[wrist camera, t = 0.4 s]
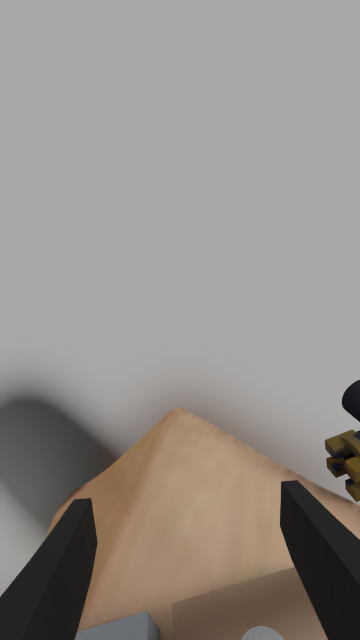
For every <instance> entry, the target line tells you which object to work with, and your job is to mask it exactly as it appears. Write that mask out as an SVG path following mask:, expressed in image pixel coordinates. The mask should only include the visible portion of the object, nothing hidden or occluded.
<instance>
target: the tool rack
mask: <svg viewBox="0 0 360 640" xmlns="http://www.w3.org/2000/svg"><path fill="white" fill-rule="evenodd" d="M75 640H160V632H159V628H158V626H157V625H156V623H155V622H154V620H153V618H152V617H151V615H150V614H149V612H148V611H146V612H143V613H139V614H136V615H133V616H129V617H126V618H122V619H119V620H116V621H112V622H109V623H106V624H102V625H99V626H96V627H92V628H89V629H85V630H82V631H79V632H77V634H76V637H75Z"/></svg>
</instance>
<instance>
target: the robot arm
mask: <svg viewBox="0 0 360 640" xmlns="http://www.w3.org/2000/svg"><path fill="white" fill-rule="evenodd" d="M280 527H281V530H282V533H283V536H284V539H285V542H286V545H287V548H288V550H289V553H290V556H291V559H292V561H293V563H294V566H295V568H296V570H297V572H298V575H299V577H300V579H301V581H302V584H303V586H304V588H305V590H306V593H307V595H308V597H309V599H310V601H311V604H312V606H313V608H314V610H315V612H316V615H317V617H318V619H319V621H320V623H321V626H322V628H323V630H324V632H325V634H326V637H327V639H328V640H360V540H359V539H358V538H357V537H356V536H355V535H354V534H353V533H352V532H351V531H349V530H348V529H347V528H346V527H345V526H344V525H343V524H342V523H341V522H340V521H339V520H338V519H336V518H335V517H334V516H333V515H332V514H331V513H330V512H329V511H328V510H327V509H326V508H325V507H324V506H323V505H322V504H321V503H320V502H319V501H318V500H317V499H316V498H315V497H314V496H313V495H312V494H311V493H310V492H309V491H308V490H307V489H306V488H305V487H304V486H303V485H302V484H301V483H299V482H298V481H297V480H295V481H283V482H281V509H280ZM96 548H97V536H96V529H95V522H94V516H93V509H92V502H91V498H86V499H75V500H74V501H73V502H72V503H71V504H70V506H69V507H68V508H67V510H66V511H65V513H64V514H63V516H62V517H61V518H60V520H59V521H58V523H57V524H56V525H55V527H54V528H53V530H52V531H51V532H50V534H49V535H48V537H47V538H46V539H45V541H44V542H43V543H42V545H41V546H40V547H39V549H38V550H37V552H36V553H35V554H34V555H33V557H32V558H31V559H30V561H29V562H28V563H27V564H26V566H25V567H24V568H23V570H22V571H21V572H20V573H19V575H18V576H17V577H16V578H15V579H14V581H13V582H12V583H11V584H10V586H9V587H8V588H7V589H6V591H5V592H4V593H3V594H2V595H1V597H0V640H75V637H76V634H77V630H78V626H79V622H80V619H81V615H82V611H83V608H84V604H85V600H86V596H87V592H88V589H89V585H90V581H91V577H92V571H93V566H94V560H95V554H96Z"/></svg>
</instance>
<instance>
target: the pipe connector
mask: <svg viewBox="0 0 360 640" xmlns="http://www.w3.org/2000/svg"><path fill="white" fill-rule="evenodd" d="M342 406H343V408H344V409H345V410H346V411H347V412H348V413H350V414H351V415H352V416H353V417H354V418H356V419H357V420H358V421H359V422H360V380H358V381H356V382H354V383H353V384H352V385H351V386H349V387H348V388H347V390H346V391H345V393H344V395H343V398H342ZM325 446H326V450H327V452H328V453H329V454H330V455H331V456H332V457H329V458H327V468H328V469H329V470H330V471H331V473H332V474H333V475H334V476H335V477H336V478H337V477H339V476H342V475H344V474H348V476H349V477H350V479H348V480H346V481H345V483H346V490H347V491H348V493H349V494H350V495H351V496H352V497H353V498H354V500H355V501H356V502H358V501H360V431H357V432H355V431H354V430H350V431H347V432H345V433H342V434H340V435H337V436H335V437H332V438H329V439H327V440H325Z"/></svg>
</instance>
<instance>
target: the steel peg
mask: <svg viewBox="0 0 360 640" xmlns="http://www.w3.org/2000/svg"><path fill="white" fill-rule="evenodd" d="M241 640H285V639H284V638H283V637H282V636H281V635H280V634H279V633H277V632H276V631H275V630H273V629H271V628H269V627H265V626H257V627H254V628H251V629H250V630H248V631H247V632H246V633H245V634H244V636H243V637H242V639H241Z"/></svg>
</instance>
